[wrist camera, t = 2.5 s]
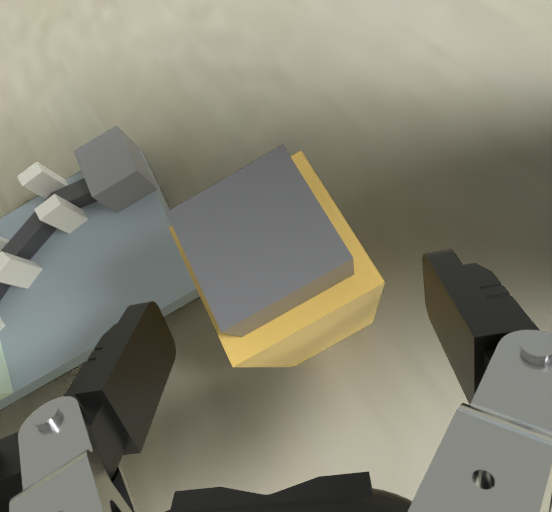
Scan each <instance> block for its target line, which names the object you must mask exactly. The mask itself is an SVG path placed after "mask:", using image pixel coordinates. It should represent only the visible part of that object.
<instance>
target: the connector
mask: <svg viewBox="0 0 552 512" xmlns="http://www.w3.org/2000/svg"><path fill="white" fill-rule="evenodd" d="M166 214H167V216H168V218H169V220H170V222H171V225H172V226H170V227H169V230H170V232H171V234H172V236H173V238H174V241H175V243H176V245H177V247H178V249H179V251H180V254H181V256H182V258H183V260H184V262H185V265H186V267H187V269H188V271H189V273H190V276H191V278H192V280H193V282H194V284H195V286H196V289H197V291H198V293H199V295H200V297H201V300H202V302H203V304H204V306H205V308H206V310H207V313H208V315H209V317H210V319H211V321H212V324H213V326H214V328H215V330H216V332H217V334H218V337H219V339H220V341H221V343H222V345H223V348H224V350H225V352H226V354H227V356H228V358H229V361H230V363H231V365H232V367H294V366H296V365H298V364H300V363H301V362H303V361H305V360H307V359H309V358H310V357H312V356H314V355H316V354H318V353H319V352H321V351H323V350H325V349H327V348H329V347H330V346H332V345H334V344H336V343H338V342H339V341H341V340H343V339H345V338H347V337H348V336H350V335H352V334H354V333H356V332H357V331H359V330H361V329H363V328H365V327H366V326H368V325H370V324H372V323H373V321H374V318H375V314H376V311H377V308H378V304H379V301H380V298H381V294H382V291H383V288H384V284H385V281H384V280H383V278H382V277H381V275H380V273H379V272H378V270H377V269H376V267H375V266H374V264H373V262H372V261H371V259H370V258H369V256H368V255H367V253H366V251H365V250H364V248H363V247H362V245H361V244H360V242H359V240H358V239H357V237H356V236H355V234H354V233H353V231H352V229H351V228H350V226H349V225H348V223H347V222H346V220H345V218H344V217H343V215H342V214H341V212H340V211H339V209H338V207H337V206H336V204H335V203H334V201H333V200H332V198H331V196H330V195H329V193H328V192H327V190H326V189H325V187H324V185H323V184H322V182H321V181H320V179H319V178H318V176H317V174H316V173H315V171H314V170H313V168H312V167H311V165H310V163H309V162H308V160H307V159H306V157H305V156H304V154H303V152H302V151H299V152H298V153H296V154H294V155H292V156H291V157H290V155H289V154H288V152H287V150H286V149H285V147H284V145H281V146H279V147H277V148H276V149H274V150H272V151H271V152H269V153H267V154H265V155H264V156H262V157H260V158H258V159H257V160H255V161H253V162H252V163H250V164H248V165H246V166H245V167H243V168H241V169H240V170H238V171H236V172H234V173H233V174H231V175H229V176H228V177H226V178H224V179H222V180H221V181H219V182H217V183H216V184H214V185H212V186H210V187H209V188H207V189H205V190H203V191H202V192H200V193H198V194H197V195H195V196H193V197H191V198H190V199H188V200H186V201H185V202H183V203H181V204H179V205H178V206H176V207H174V208H173V209H171V210H169V211H167V212H166Z"/></svg>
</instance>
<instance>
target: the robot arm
mask: <svg viewBox="0 0 552 512" xmlns="http://www.w3.org/2000/svg"><path fill="white" fill-rule="evenodd" d="M422 262H423V277H424V291H425V302H426V308H427V312H428V316H429V319H430V321H431V323H432V325H433V328H434V330H435V332H436V334H437V336H438V338H439V340H440V343H441V345H442V347H443V349H444V351H445V353H446V355H447V357H448V360H449V362H450V364H451V366H452V368H453V370H454V372H455V375H456V377H457V379H458V381H459V383H460V385H461V387H462V389H463V392H464V394H465V396H466V398H467V400H468V402H469V404H470V405H467V404H465V403H462V404H461V405H460V406H459V407H458V409H457V410H456V412H455V414H454V416H453V418H452V420H451V423H450V425H449V427H448V429H447V431H446V433H445V435H444V437H443V439H442V441H441V443H440V445H439V447H438V450H437V452H436V454H435V456H434V458H433V460H432V462H431V464H430V466H429V468H428V470H427V472H426V474H425V476H424V479H423V481H422V483H421V485H420V487H419V489H418V491H417V493H416V495H415V497H414V499H413V501H410V500H409V499H406V498H404V497H402V496H399V495H397V494H394V493H391V492H387V491H384V490H379V489H373V488H372V485H371V480H370V475H369V472H361V473H351V474H341V475H332V476H322V477H317V478H314V479H311V480H309V481H306V482H303V483H301V484H298V485H295V486H292V487H290V488H287V489H284V490H282V491H279V492H276V493H273V494H270V495H262V494H256V493H251V492H245V491H240V490H234V489H229V488H223V487H215V488H205V489H195V490H185V491H176V492H175V494H174V498H173V502H172V506H171V509H170V510H168V511H166V512H552V333H548V332H544V331H540V330H539V329H538V328H537V326H536V325H535V324H534V323H533V322H532V320H531V319H530V318H529V317H528V315H527V314H526V313H525V312H524V311H523V309H522V308H521V307H520V306H519V304H518V303H517V302H516V301H515V300H514V298H513V297H512V296H510V295H509V292H508V291H507V290H506V289H505V287H504V286H502V285H501V283H500V281H499V280H498V279H497V278H496V276H495V275H494V274H493V273H492V272H491V271H489V270H487V269H485V268H484V267H482V266H480V265H478V264H476V263H473V264H468V265H463V264H462V262H461V261H460V260H459V258H458V257H457V255H456V254H455V253H454V251H453V250H452V249H449V250H443V251H438V252H432V253H426V254H423V258H422ZM175 355H176V348H175V342H174V339H173V337H172V335H171V332H170V330H169V328H168V326H167V324H166V321H165V319H164V317H163V315H162V313H161V310H160V308H159V306H158V305H157V303H155V302H154V301H151V302H145V303H140V304H134V305H130V306H128V307H127V308H126V310H125V312H124V313H123V315H122V317H121V318H120V320H119V322H118V323H117V324H114V325H113V326H112V327H111V328H110V329H109V330H108V331H107V332H106V333H105V334H104V335H103V336H102V337H101V338H100V340H99V342H98V343H97V345H96V346H95V348H94V351H92V353H91V354H90V356H89V357H88V361H87V362H85V364H84V365H83V367H82V368H81V370H80V372H79V373H78V375H77V376H76V378H75V379H74V381H73V383H72V384H71V386H70V387H69V389H68V390H67V392H66V394H65V395H64V397H59V398H56V399H53V400H51V401H49V402H47V403H45V404H43V405H42V406H40V407H39V408H38V409H36V410H35V411H34V412H33V413H32V414H31V415H30V416H29V417H28V418H27V419H26V420H25V421H24V423H23V424H22V426H21V428H20V430H19V432H18V433H15V434H12V435H10V436H7V437H5V438H2V439H0V512H139V511H138V509H137V506H136V503H135V501H134V498H133V495H132V493H131V490H130V487H129V485H128V482H127V479H126V477H125V474H124V471H123V470H122V468H121V466H120V465H119V462H120V460H121V457H122V455H126V454H135V453H141V450H142V447H143V444H144V442H145V439H146V436H147V434H148V431H149V428H150V425H151V423H152V420H153V417H154V414H155V412H156V409H157V406H158V404H159V401H160V398H161V395H162V393H163V390H164V387H165V384H166V382H167V379H168V376H169V374H170V371H171V368H172V365H173V363H174V360H175Z"/></svg>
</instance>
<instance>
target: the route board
mask: <svg viewBox="0 0 552 512" xmlns="http://www.w3.org/2000/svg"><path fill="white" fill-rule="evenodd" d="M74 153H75V155H76V158H77V160H78V163H79V165H80V168H81V171H79V172H78V173H76V174H74V175H73V176H71V177H69V178H68V179H66V180H65V179H64V178H62V177H61V176H59V175H57V174H56V173H54V172H53V171H51V170H50V169H48V168H46V167H45V166H43V165H42V164H40V163H39V162H37V161H36V162H35V163H34V164H32V165H31V166H30V167H29V168H27V169H26V170H25V171H23V172H22V173H21V174H19V175H18V176H17V177H18V179H19V181H20V183H21V185H22V187H24V188H26V189H28V190H30V191H32V192H34V193H35V194H37V195H39V196H37V197H36V198H34V199H32V200H31V201H29V202H27V203H25V204H24V205H22V206H20V207H19V208H17V209H15V210H14V211H12V212H10V213H9V214H7V215H5V216H4V217H2V218H0V410H1V409H3V408H5V407H6V406H8V405H10V404H12V403H13V402H15V401H17V400H19V399H20V398H22V397H24V396H26V395H28V394H29V393H31V392H33V391H35V390H36V389H38V388H40V387H42V386H43V385H45V384H47V383H49V382H50V381H52V380H54V379H56V378H57V377H59V376H61V375H63V374H64V373H66V372H68V371H70V370H72V369H73V368H75V367H77V366H79V365H80V364H82V363H84V362H86V361H87V360H88V357H89V356H90V354H91V353H92V351H94V348H95V346H96V345H97V343H98V342H99V340H100V338H101V337H102V336H103V335H104V334H105V333H106V332H107V331H108V330H109V329H110V328H111V327H112V326H113V325H114V324H117V323H118V322H119V320H120V318H121V317H122V315H123V313H124V312H125V310H126V308H127V307H128V306H130V305H134V304H140V303H145V302H151V301H154V302H155V303H157V305H158V306H159V308H160V310H161V313H162V315H163V317H165V316H167V315H168V314H170V313H172V312H174V311H175V310H177V309H179V308H181V307H182V306H184V305H186V304H188V303H189V302H191V301H193V300H195V299H196V298H198V297H200V295H199V293H198V291H197V289H196V286H195V284H194V282H193V280H192V278H191V276H190V273H189V271H188V269H187V267H186V265H185V262H184V260H183V258H182V256H181V254H180V251H179V249H178V247H177V245H176V243H175V241H174V238H173V236H172V234H171V232H170V230H169V227H170V226H172V225H171V222H170V220H169V218H168V216H167V214H166V212H167V211H169V210H170V209H169V207H168V205H167V203H166V200H165V198H164V196H163V194H162V192H161V190H160V188H159V185H158V183H157V181H156V179H155V177H154V175H153V173H152V170H151V168H150V166H149V164H148V162H147V160H146V158H145V155H144V153H143V152H142V151H141V150H140V149H139V147H138V146H137V145H136V144H135V143H134V142H133V141H132V140H131V139H130V138H129V137H128V136H127V135H126V134H125V133H124V132H123V131H122V130H121V129H120V128H119V127H118V126H115V127H114V128H112V129H110V130H109V131H107V132H105V133H104V134H102V135H100V136H99V137H97V138H95V139H93V140H92V141H90V142H88V143H87V144H85V145H83V146H82V147H80V148H78V149H77V150H75V151H74Z"/></svg>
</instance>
